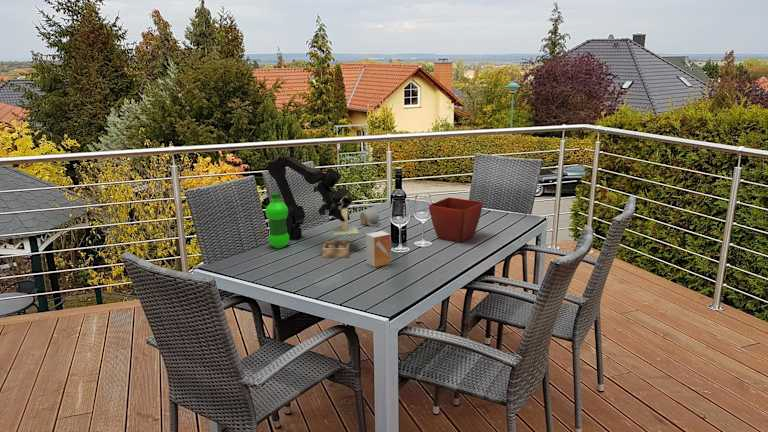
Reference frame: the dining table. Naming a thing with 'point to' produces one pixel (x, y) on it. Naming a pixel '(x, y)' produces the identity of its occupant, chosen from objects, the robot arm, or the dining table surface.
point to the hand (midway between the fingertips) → (346, 220)
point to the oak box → (336, 249)
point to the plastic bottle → (277, 222)
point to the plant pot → (455, 218)
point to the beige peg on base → (344, 226)
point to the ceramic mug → (370, 218)
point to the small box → (378, 248)
